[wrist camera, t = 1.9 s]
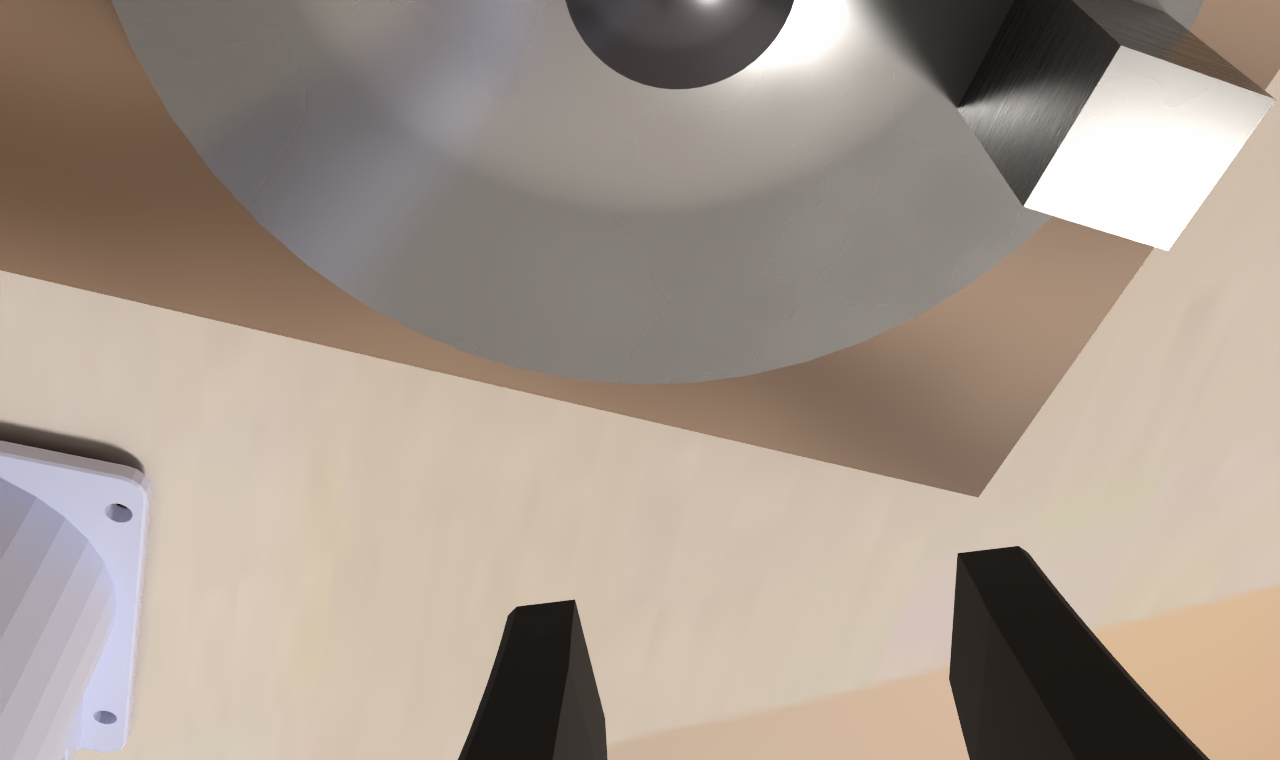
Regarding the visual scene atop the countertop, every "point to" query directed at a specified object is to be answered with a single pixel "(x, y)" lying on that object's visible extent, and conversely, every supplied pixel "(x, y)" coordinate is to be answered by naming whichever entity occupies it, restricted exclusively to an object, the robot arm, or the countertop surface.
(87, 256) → the base plate
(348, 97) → the silver round platter
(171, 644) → the countertop surface
